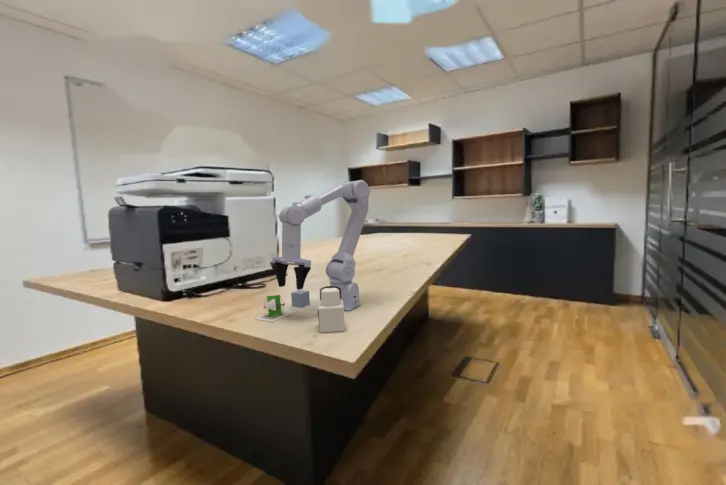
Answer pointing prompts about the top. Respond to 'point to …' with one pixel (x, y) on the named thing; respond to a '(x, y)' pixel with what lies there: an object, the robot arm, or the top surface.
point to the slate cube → (300, 298)
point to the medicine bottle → (331, 310)
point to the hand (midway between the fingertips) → (290, 287)
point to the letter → (274, 318)
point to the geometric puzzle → (274, 305)
